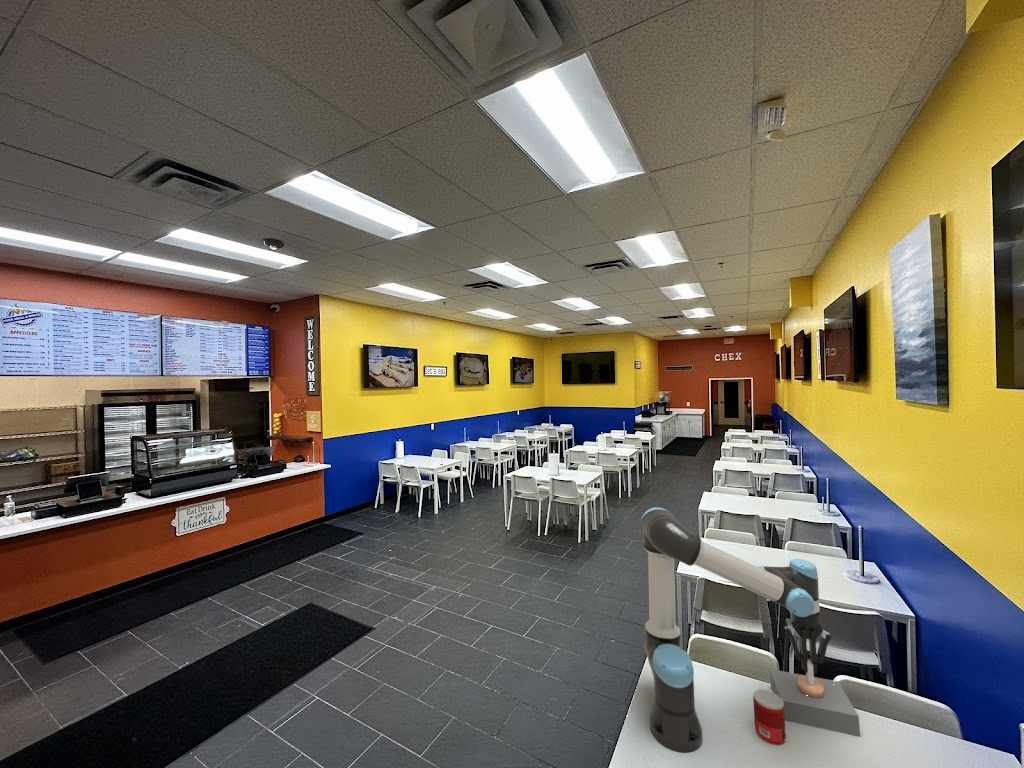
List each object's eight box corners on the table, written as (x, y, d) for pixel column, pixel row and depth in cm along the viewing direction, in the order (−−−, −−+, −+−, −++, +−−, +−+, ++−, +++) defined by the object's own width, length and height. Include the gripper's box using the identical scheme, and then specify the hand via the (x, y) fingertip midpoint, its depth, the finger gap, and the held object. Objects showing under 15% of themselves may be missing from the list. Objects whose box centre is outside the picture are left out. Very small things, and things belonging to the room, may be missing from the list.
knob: (802, 712, 131) (800, 687, 132) (795, 697, 138) (794, 673, 138) (828, 717, 129) (826, 692, 129) (820, 702, 135) (819, 678, 136)
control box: (782, 719, 130) (781, 700, 130) (770, 686, 144) (769, 669, 145) (860, 736, 122) (858, 716, 123) (839, 699, 137) (838, 681, 137)
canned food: (790, 747, 119) (788, 709, 120) (760, 743, 121) (758, 705, 121) (779, 726, 127) (777, 690, 127) (751, 723, 128) (749, 687, 129)
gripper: (785, 611, 134) (790, 684, 133) (833, 618, 129) (838, 694, 128) (780, 600, 141) (784, 670, 140) (825, 606, 136) (829, 678, 135)
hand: (810, 681), depth 134 cm, fingers closed
